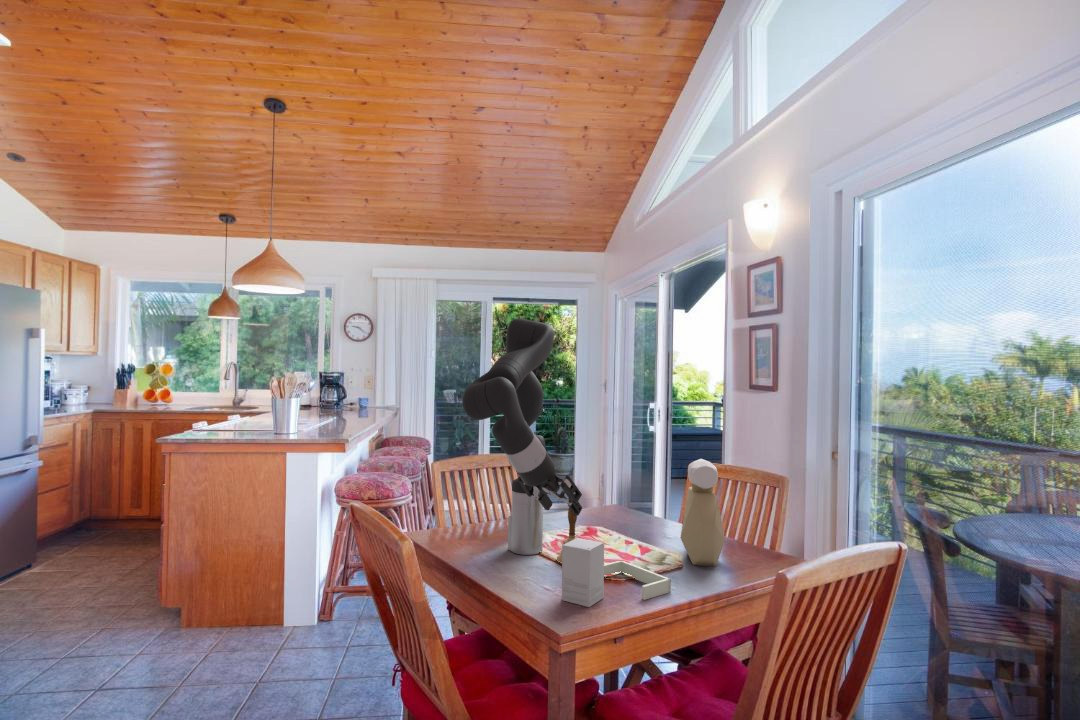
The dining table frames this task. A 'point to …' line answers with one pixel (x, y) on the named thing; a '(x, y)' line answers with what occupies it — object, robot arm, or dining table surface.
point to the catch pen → (642, 578)
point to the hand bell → (572, 522)
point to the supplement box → (583, 572)
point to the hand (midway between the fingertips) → (563, 509)
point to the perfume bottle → (702, 516)
